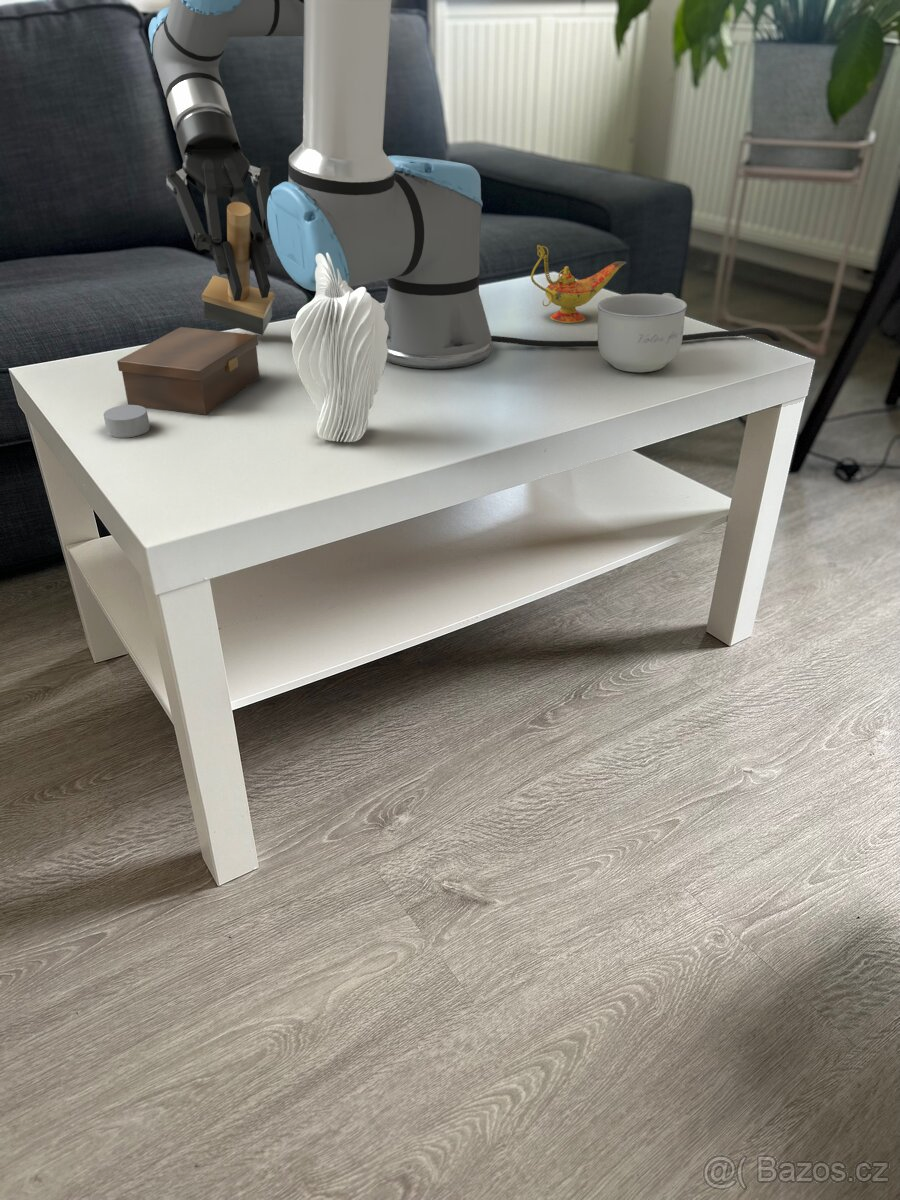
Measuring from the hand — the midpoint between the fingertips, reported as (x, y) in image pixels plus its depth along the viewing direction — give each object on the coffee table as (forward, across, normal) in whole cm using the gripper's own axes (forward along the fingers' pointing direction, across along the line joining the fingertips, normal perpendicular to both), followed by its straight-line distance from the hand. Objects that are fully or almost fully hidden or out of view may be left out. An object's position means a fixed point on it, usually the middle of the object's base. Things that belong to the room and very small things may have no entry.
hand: (252, 293), depth 115 cm
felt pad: (+17, +19, +8) cm, 27 cm away
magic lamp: (+6, -48, -6) cm, 48 cm away
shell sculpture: (+26, -2, +14) cm, 30 cm away
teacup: (+21, -44, +9) cm, 50 cm away
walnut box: (+12, +10, 0) cm, 16 cm away
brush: (-3, 0, -10) cm, 11 cm away
